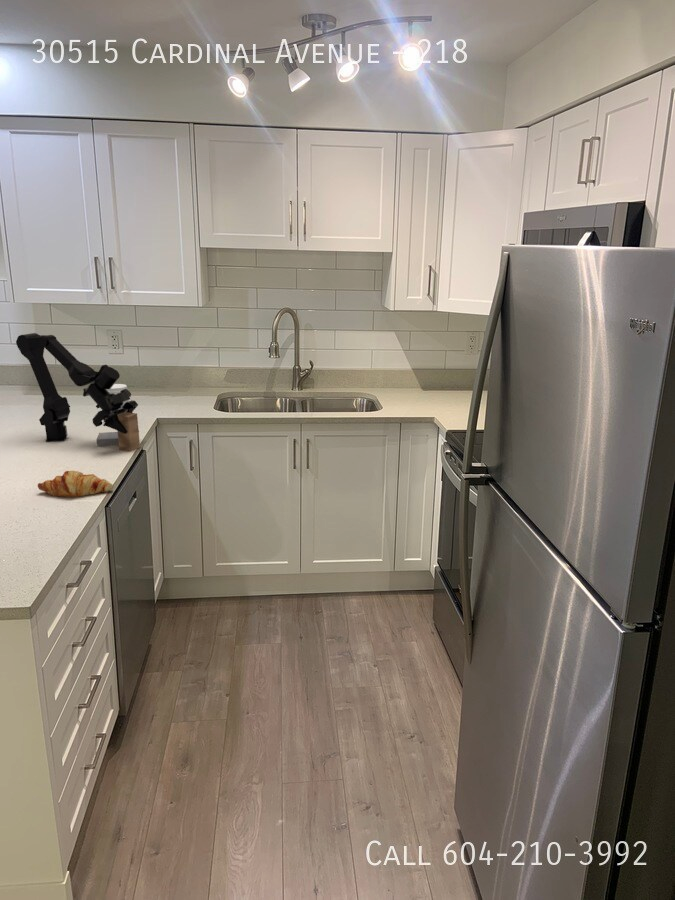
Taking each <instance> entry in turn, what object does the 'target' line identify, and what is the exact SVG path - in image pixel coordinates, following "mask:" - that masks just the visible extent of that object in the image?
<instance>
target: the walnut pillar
mask: <svg viewBox="0 0 675 900" xmlns="http://www.w3.org/2000/svg"><path fill="white" fill-rule="evenodd" d="M138 418H139V417H138V413H135V412H132V413H128V412H124V413H122V414H119V415H118V420H119V421H120V422H121V424H122V425H123V426H124V427H125V429H126V430H127V433H126V434H124V433H122V432H120V431H117V432H118V441H119V445H118V449H119V451H125V452H133V451H136V450H139V449H140V448H141V444H140V443H141V441H140V431H139V420H138Z"/></svg>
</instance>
